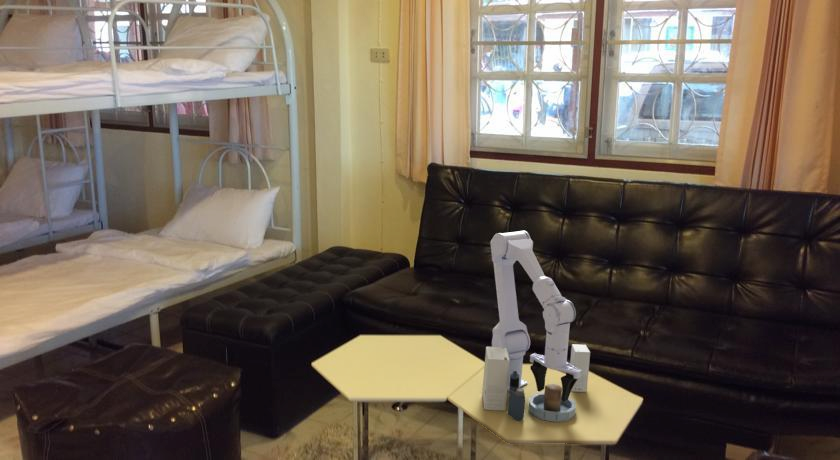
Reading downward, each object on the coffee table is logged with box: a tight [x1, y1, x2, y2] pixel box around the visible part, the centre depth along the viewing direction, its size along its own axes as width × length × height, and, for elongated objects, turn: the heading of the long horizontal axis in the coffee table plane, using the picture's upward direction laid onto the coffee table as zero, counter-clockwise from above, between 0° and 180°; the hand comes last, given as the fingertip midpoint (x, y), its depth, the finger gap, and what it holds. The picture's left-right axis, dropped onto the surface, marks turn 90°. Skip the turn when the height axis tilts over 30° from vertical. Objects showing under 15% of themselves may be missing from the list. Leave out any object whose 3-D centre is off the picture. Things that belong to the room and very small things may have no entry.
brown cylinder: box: [544, 383, 562, 412], centre depth 187 cm, size 4×4×6 cm
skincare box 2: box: [569, 343, 591, 393], centre depth 201 cm, size 6×4×12 cm
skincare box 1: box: [481, 346, 510, 411], centre depth 189 cm, size 8×6×15 cm
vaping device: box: [507, 371, 526, 422], centre depth 183 cm, size 3×5×12 cm, turn 27°
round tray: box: [528, 391, 577, 423], centre depth 188 cm, size 12×12×2 cm
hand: (552, 395), depth 187 cm, fingers open, 7 cm apart
